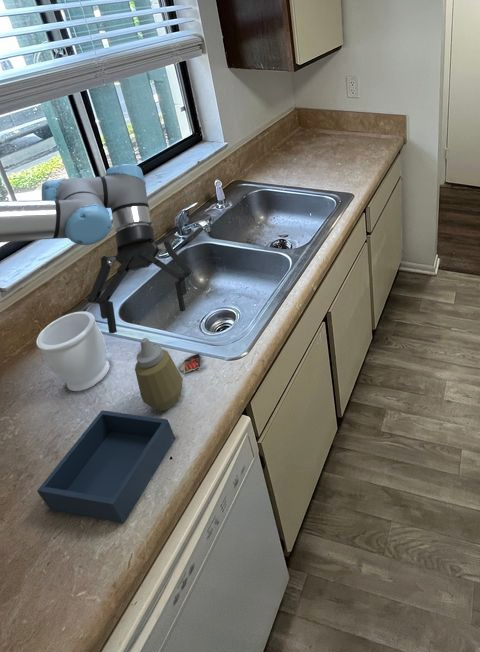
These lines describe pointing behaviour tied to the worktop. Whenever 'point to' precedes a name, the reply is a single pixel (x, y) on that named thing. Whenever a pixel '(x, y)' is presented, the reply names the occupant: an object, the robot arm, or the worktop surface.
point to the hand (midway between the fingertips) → (148, 321)
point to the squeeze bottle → (157, 377)
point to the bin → (108, 466)
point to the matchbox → (191, 363)
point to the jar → (75, 350)
